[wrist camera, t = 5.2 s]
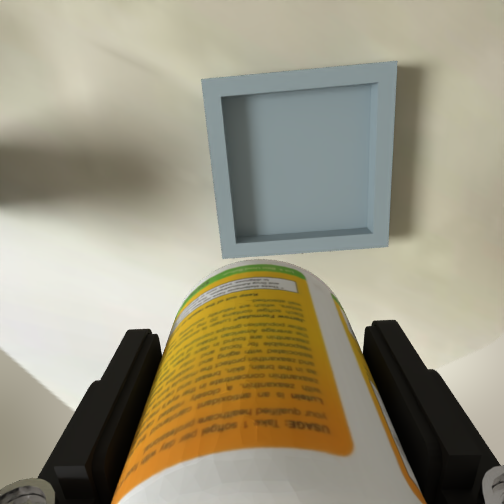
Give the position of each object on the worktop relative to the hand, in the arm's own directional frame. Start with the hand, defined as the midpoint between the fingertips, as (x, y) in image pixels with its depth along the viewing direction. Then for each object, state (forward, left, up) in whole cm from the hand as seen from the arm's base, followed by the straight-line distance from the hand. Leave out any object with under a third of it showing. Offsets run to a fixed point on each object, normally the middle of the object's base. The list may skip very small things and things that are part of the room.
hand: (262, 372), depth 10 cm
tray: (-3, +3, -17) cm, 17 cm away
